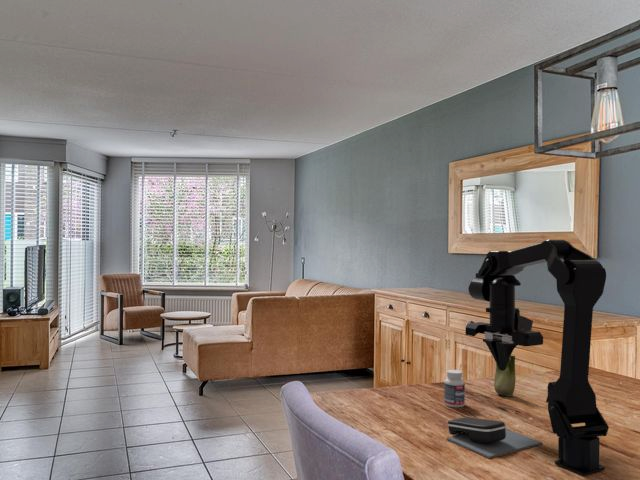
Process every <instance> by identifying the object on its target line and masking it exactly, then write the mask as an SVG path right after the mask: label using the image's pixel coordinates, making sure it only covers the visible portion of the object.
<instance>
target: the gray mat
mask: <svg viewBox="0 0 640 480" xmlns="http://www.w3.org/2000/svg"><path fill="white" fill-rule="evenodd" d="M505 430H506V437H505V439H503V440H501V441H497V442H493V443H478V442H473V441H471V440H470V437H469V435H468V434H467V433H466V432H465V433H460V434H456V435H453V436H448V437H446V441H449V442H450V443H452V444H453V443H454V444H455V445H458V446H460V447H461V448H464V449H467V450H469V451H471V452H473V453H474V454H475V453H476V454H478V455H480V456H483V457H485V458H487V459H492V458H496V457H499V456H502V455H506V454H510V453H514V452H517V451H521V450H522V451H523V450H526V449H529V448H532V447H535V446H540V445H543V441H540V440H538V439H535V438H532V437H529V436H526V435H524V434H521V433H519V432H516V431H513V430H511V429H507V428H505Z"/></svg>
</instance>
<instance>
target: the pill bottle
mask: <svg viewBox="0 0 640 480" xmlns="http://www.w3.org/2000/svg"><path fill="white" fill-rule="evenodd" d="M446 377H447V378H446V379H444V388H443V389H444V392H443V393H444V394H443V397H444V399H443V401H444V402H443V404H444V405H445V406H446V407H451V408H462V407H464V406H465V405H466V404H465V403H466V402H465V400H466V399H465V396H466V394H465V393H466V391H465V390H466V389H465V385H466V383H465V381H464V379H462V378H463V371H462V370H458V369H449V370H446Z"/></svg>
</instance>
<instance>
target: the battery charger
mask: <svg viewBox="0 0 640 480" xmlns="http://www.w3.org/2000/svg"><path fill="white" fill-rule="evenodd" d="M447 426H448V432H449V434H451V436H452V435H453V436H457V435H461V434H465V433H467V434H468V435H469V437H470V440H471V441H473V442H478V443H493V442H497V441H501V440H503V439H505V437H506V430H505V429H507V428H506V424H505V422H504V421H499V420H494V419H486V418H478V417H471V416H470V417H469V416H464V417H460V418H456V419H452V420H451V419H450V420H448V422H447Z"/></svg>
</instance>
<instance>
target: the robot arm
mask: <svg viewBox="0 0 640 480" xmlns="http://www.w3.org/2000/svg"><path fill="white" fill-rule="evenodd" d="M543 263H546V265H547V271H548V273H550V274H551V276H553V277H554V279H555V280H556V281H555V282H556V291H557V293H558V295H559V297H560V298H561V300H562V302H563V305H564V308H563V310H564V311H563V321H562V323H563V325H562V337H561V338H562V339H561V340H562V341H561V354H560V356H561V358H560V371H559V376H558V379H557V380H556V381H550V382H548V384H547V388H546V389H547V397H546V400H545V402H546V403H547V411H548V416H549V420H550V424H551V429H552V432H553V433H554V434H556V437H557V438H558V441H557V443H558V444H557V448H558V451H557V452H558V453H557V456H558V459H557V460H554V464H555V465H557V466H560V467H562V468H564V469H567V470H569V471H572V472H574V473H577V474H579V475H581V476H588V475H591V474H594V473H597V472H600V471H602V470H605V465H603V464H602V463H600V460H601V459H600V456H601V455H600V451H601V449H600V445H601V444H600V437H607V435H608V432H609V429H610V427H609V424H608V423H607V422H606V420H605V418H604V416H603V415H602V414H601V412H600V410H599V409H598V407H597V397H596V393H595V391H594V389H593V387H592V386H591V384H590V382H589V372H590V371H589V370H590V357H591V356H590V355H591V345H592V343H591V342H592V341H591V340H592V330H593V329H592V328H593V327H592V326H593V314H594V308H595V307H594V306H596V304H597V303H598V301H599V300H600V298H601V297H602V296H603V294H604V290H605V286H606V281H607V269H606V268H605V267H603V265H602V263H600V261H598V260H596V259H595V258H594V257H592V256H591V255H589V254H588V253H586V252H583V250H580V249H578V248H576V247H575V246H573V245H572V244H571V243H570V242H569V241H567V240H565V239H546V240H544V241H542V242H539V243H536V244H532V245H528V246H525V247H521V248H518V249H515V250H490V251H488V252H487V253H486V256H485V258H484V259H483V261H482V265H481V266H480V268H479V270H478V271H477V272H476V273H475V278H473V279H472V280H471V281H470V283H469V285H468V289H467V290H468V294H469V296H470V297H471V298H472V299H474V300H478V301H484V302H488V303H489V307H485V312H486V313H489V323H488V322H483V321H481V322H480V321H479V322H469V323H467V325H466V326H465V335H466V336H471V337H475V336H476V335H478V334H482V335H484V338H483V339H482V342H483V343H485V345H486V346H487V348H488V349H489V351H490V353H491V355H492V357H493V360H494V361H495V365H496V364H497V366H498V368H499V370H502V371H504V370H505V369H506V366H507V364H508V361H509V359H510V356H511V355H513V354H512V353H513V351H514V349H515V348H516V347H517V346H521V347H534V346H541V345H544V336H543V334H542V332H541V331H538V330H537V331H535V330H532V327H533V324H534V320H532V319H530V318H528V317H526V316H523V315H521V314H520V313H521V312H520V308H517V307H516V286H517V287H518V286H519V287H520V286H521V281H520V280H518V279H517V278H516V276H515V275H517V274H520V273H522V271H524V268H526V267H530V266H535V265H538V264H543ZM577 424H584V425H578V426H573V425H577Z"/></svg>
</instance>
